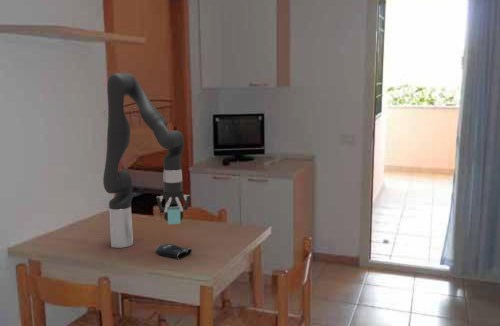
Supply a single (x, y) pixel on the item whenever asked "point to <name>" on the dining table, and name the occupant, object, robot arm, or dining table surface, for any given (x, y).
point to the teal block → (174, 215)
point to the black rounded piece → (172, 250)
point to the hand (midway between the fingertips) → (173, 219)
